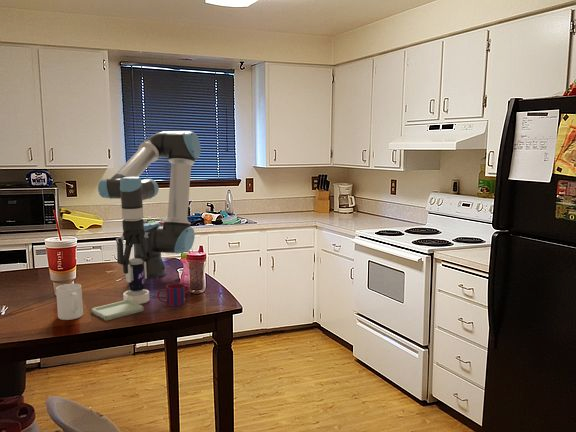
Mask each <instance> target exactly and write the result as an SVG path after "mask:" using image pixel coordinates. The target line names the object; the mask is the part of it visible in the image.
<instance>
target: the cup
mask: <svg viewBox="0 0 576 432" xmlns="http://www.w3.org/2000/svg"><path fill="white" fill-rule="evenodd" d="M185 287H186V286H185V284H184V283H177V282H176V283H169V284H166V287H165V288H161V289H158V291H157V299H158V300H159V302H161V303H165V304H166V305H167V306H168V307H181V306H183V305H185V304H186V289H185ZM161 291H164V292H165V294H166V297H165V298H166V300H162V299H161V298H160V293H161Z"/></svg>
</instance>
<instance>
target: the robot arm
mask: <svg viewBox="0 0 576 432" xmlns="http://www.w3.org/2000/svg"><path fill="white" fill-rule="evenodd" d="M199 139H200V138H199V137H198V135H197V134H196V133H195V132H194V131H186V130H184V131H160V132H156V133H155V134H152V135H150V136H149V137H148V138H146V139H145V140H143V141H142V142H141V143H140V144H139V145H138V148H137V151H136V152H135V153H134V154H133V155H132V156H131V157H130V158H129V159H128V160H127V161H126V162H125V163H124V165H123V166H121V167H120V168H119V169H118V171H117V172H116V173H114V175H112V176H111V178H103V179H101V180H100V181H99V182H98V184H97V191H98V194H99V196H100V198H104V199H110V200H112V199H116V200H117V199H119V200H120V204H121V205H120V207H121V218H122V219H123V220H122V223H121V225H122V232H123V233H122V235H121V236H119V237H117V236H116V237H115V242H116V250H117V253H116V254H117V255H116V256H117V257H116V259H117V263H118V265H121V266H122V272H123V274H125V281H126V282H128V283H129V282H131V267H130V265H129V264H128V263H129V260H130V259H131V258H130V256H131V251H132V248H133V259H134V258H140V259H142V261H143V264H144V280H146V279H156V278H159V277H162V276H165V275H166V274H167V271H166V270H167V269H166V266H165V263H164V261H163V258H162V253H163V254H164V253H165V254H176V255H177V254H184V253H183V252H186V251H188V252H190V250H191V249H192V248H193V245H194V242H195V237H196V235H195V229H194V228H193V227H191V222H190V221H189V219H188V214H189V200H190V184H191V174H192V173H191V171H192V167H193V165H194V164H195V162H196V159H198V158H199V157H200V155H201V153H202V151H201V149H202V148H201V143H200V140H199ZM162 158H164V159H165V158H166V159H168V160H167V161H168V162H169V163H170V166H171V167H170V180H169V191H168V193H169V194H168V205H167V217H166V219H165V220H164V221H163V222H162V223H163V225H161V223H160V222H158V221H154V222H153V221H151V222H146V223H144V219H143V218H144V208H143V205H144V204H143V201H146V200H151V199H152V198H153V197H156V195H158V193H159V184H158V183H157V182H156V180H155V179H152V178H144V179H142V178H141V177H140V176H141V175H142V174H143V173H144V172H145V170H146V169H147V168H148V167H149V166H150V165H151V164H152V163H154V162H156V161H158V159H162ZM124 241H125V244H124ZM124 246H125V247H124Z"/></svg>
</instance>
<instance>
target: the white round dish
mask: <svg viewBox="0 0 576 432" xmlns="http://www.w3.org/2000/svg"><path fill="white" fill-rule="evenodd" d="M122 297H123V300H122V301H125V300H131V301H133V302H135V303H137V304H139V305H142V304H144V303H146V304H147V303H148V302H149V301H150V290H148V289H146V288H144V289H143V291H141V292H131V291H130V290H129V289H128V290H126V291H124V292H123V295H122Z"/></svg>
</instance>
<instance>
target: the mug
mask: <svg viewBox="0 0 576 432" xmlns="http://www.w3.org/2000/svg"><path fill="white" fill-rule="evenodd" d="M55 293H56V295H55V296H56V306H57V317H58V319H59V320H62V321H69V320H76V319H79V318H81V317H82V316H83V315H84V310H83V308H84V307H83V292H82V285H81V284H79V283H64V284H60V285H58V286H56V288H55Z"/></svg>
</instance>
